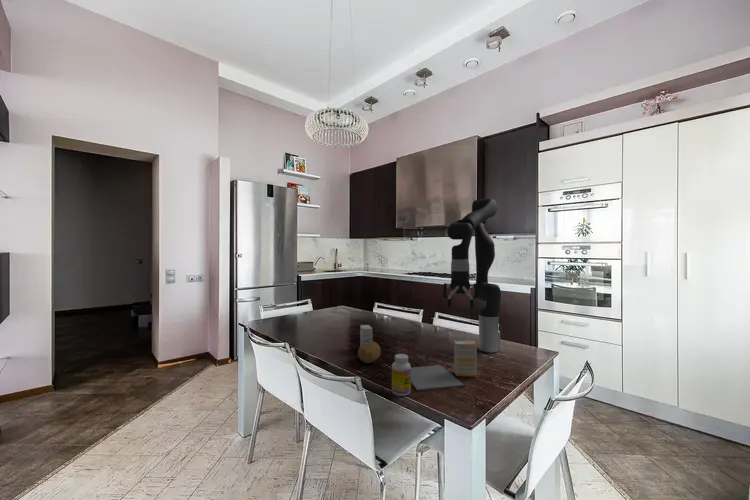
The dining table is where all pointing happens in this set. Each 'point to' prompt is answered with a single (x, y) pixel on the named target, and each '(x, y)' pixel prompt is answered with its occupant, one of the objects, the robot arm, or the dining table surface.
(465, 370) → the supplement box
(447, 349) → the dining table surface
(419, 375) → the rubber mat
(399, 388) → the supplement bottle
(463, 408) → the dining table surface
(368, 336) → the ink box
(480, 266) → the robot arm
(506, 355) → the dining table surface
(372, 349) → the potato
